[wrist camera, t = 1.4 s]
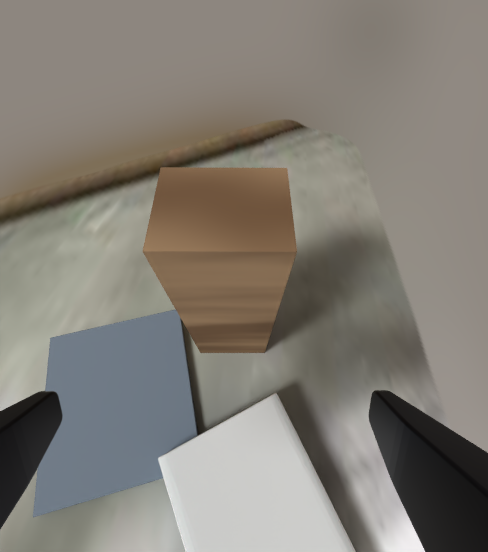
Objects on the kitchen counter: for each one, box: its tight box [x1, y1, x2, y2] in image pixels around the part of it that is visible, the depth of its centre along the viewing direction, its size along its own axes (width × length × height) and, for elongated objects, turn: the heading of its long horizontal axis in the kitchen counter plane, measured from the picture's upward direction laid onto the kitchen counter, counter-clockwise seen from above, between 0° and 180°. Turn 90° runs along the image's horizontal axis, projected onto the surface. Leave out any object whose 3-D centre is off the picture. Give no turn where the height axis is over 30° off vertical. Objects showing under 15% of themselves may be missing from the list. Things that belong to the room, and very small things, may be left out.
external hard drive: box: [158, 393, 356, 552], centre depth 15 cm, size 2×8×12 cm
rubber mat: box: [33, 310, 198, 517], centre depth 19 cm, size 11×10×1 cm
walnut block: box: [143, 168, 297, 353], centre depth 16 cm, size 4×5×14 cm
